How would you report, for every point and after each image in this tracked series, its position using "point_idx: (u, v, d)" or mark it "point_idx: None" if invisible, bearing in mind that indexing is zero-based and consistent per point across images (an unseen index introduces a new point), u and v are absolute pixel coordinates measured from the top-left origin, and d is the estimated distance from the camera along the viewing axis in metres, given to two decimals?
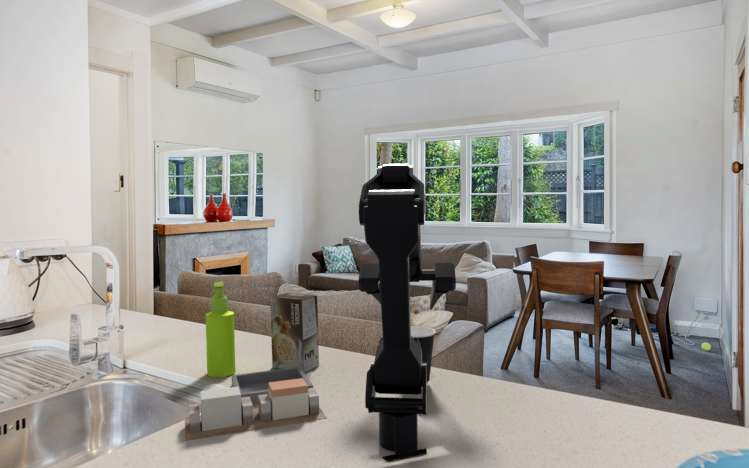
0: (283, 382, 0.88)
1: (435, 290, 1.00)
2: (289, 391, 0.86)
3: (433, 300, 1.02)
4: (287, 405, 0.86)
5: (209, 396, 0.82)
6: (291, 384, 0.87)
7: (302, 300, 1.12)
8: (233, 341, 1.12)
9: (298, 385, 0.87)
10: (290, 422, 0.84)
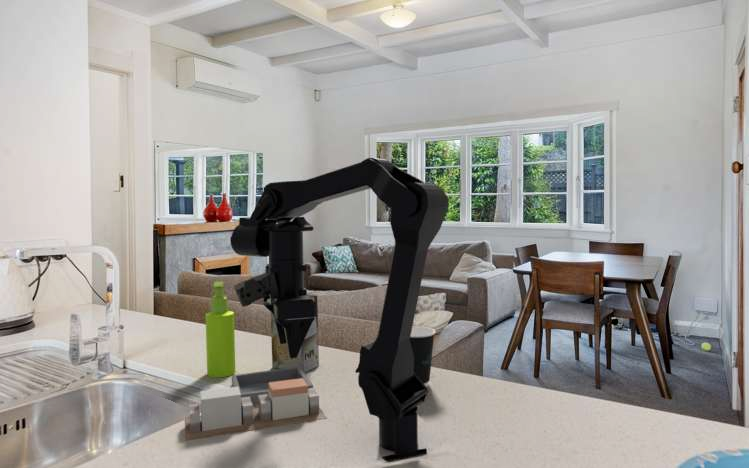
0: (283, 382, 0.88)
1: None
2: (289, 391, 0.86)
3: None
4: (287, 405, 0.86)
5: (209, 396, 0.82)
6: (291, 384, 0.87)
7: None
8: (233, 341, 1.12)
9: (298, 385, 0.87)
10: (290, 422, 0.84)
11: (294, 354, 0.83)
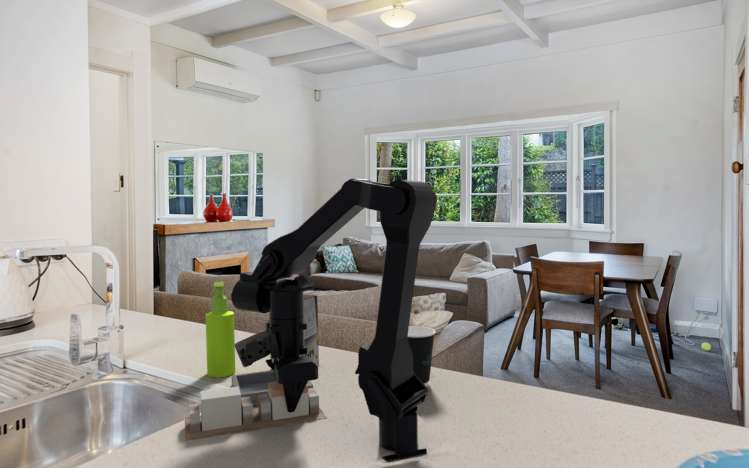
0: None
1: None
2: None
3: None
4: None
5: (209, 396, 0.82)
6: None
7: None
8: (233, 341, 1.12)
9: None
10: (290, 422, 0.84)
11: (292, 408, 0.86)
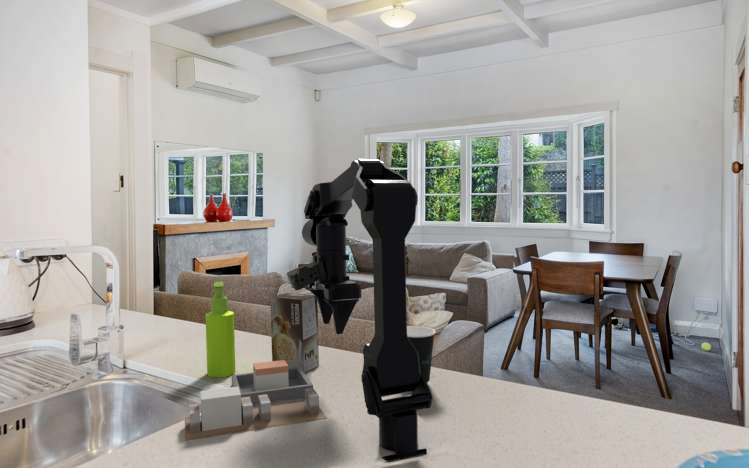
0: (266, 363, 0.99)
1: None
2: (271, 370, 0.97)
3: None
4: (269, 382, 0.97)
5: (209, 396, 0.82)
6: (273, 365, 0.98)
7: (302, 300, 1.12)
8: (233, 341, 1.12)
9: (279, 365, 0.98)
10: (290, 422, 0.84)
11: (340, 331, 0.97)
